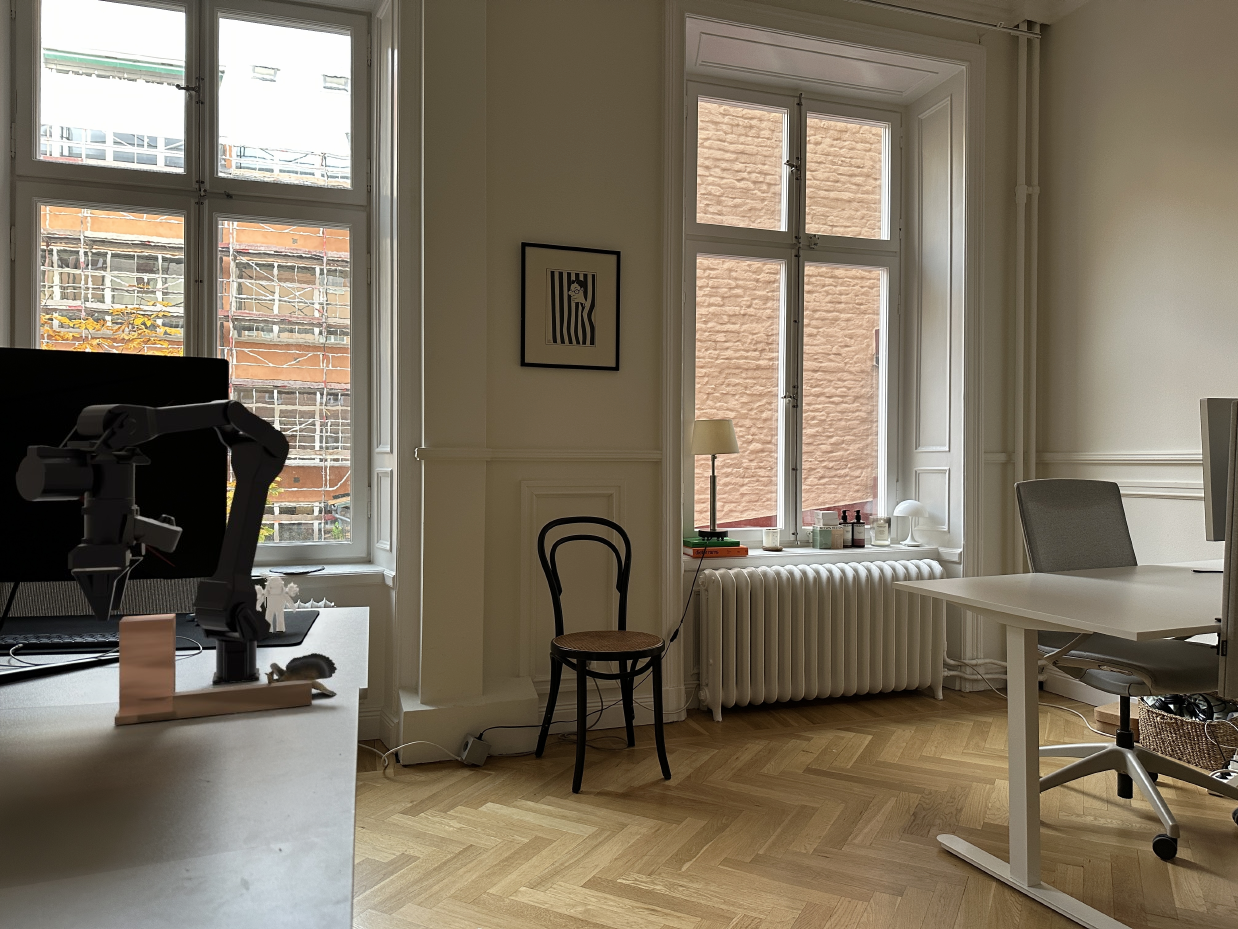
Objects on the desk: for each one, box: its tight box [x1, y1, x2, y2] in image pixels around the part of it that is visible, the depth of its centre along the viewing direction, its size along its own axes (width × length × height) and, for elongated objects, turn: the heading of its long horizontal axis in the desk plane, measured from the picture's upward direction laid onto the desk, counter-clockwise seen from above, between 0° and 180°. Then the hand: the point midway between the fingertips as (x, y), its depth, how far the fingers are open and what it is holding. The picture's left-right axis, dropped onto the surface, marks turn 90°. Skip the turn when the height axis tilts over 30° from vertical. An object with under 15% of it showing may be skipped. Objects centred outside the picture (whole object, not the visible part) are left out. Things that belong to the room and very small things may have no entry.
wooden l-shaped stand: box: [114, 613, 313, 726], centre depth 116 cm, size 10×24×13 cm, turn 113°
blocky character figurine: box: [254, 572, 300, 633], centre depth 168 cm, size 9×4×12 cm, turn 116°
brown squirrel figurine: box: [264, 652, 338, 696], centre depth 119 cm, size 8×7×9 cm
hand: (109, 615), depth 112 cm, fingers open, 9 cm apart
